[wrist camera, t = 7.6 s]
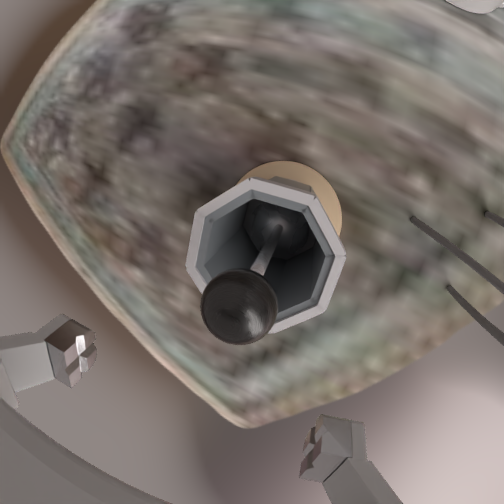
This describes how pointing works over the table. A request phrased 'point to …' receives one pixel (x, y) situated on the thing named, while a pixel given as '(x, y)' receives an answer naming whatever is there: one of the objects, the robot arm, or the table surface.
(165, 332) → the table surface
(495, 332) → the citrus juicer
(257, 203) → the grey octagonal cup
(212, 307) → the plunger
